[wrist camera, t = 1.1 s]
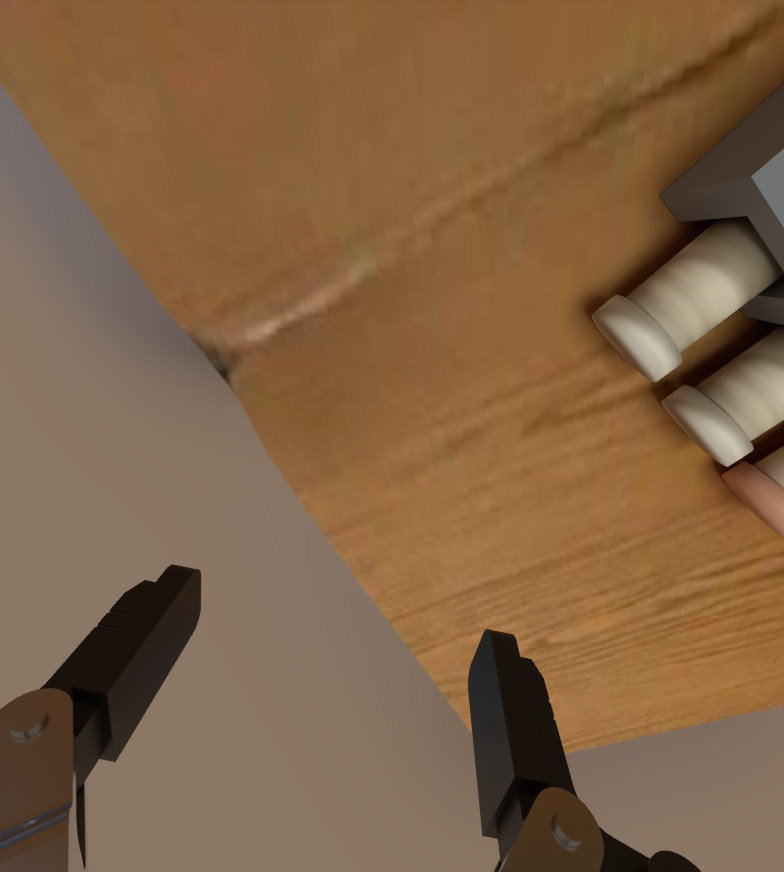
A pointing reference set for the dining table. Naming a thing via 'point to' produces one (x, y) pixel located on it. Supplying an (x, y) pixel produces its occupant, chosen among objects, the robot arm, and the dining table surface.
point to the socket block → (743, 190)
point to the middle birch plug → (734, 401)
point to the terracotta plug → (761, 488)
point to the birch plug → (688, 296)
